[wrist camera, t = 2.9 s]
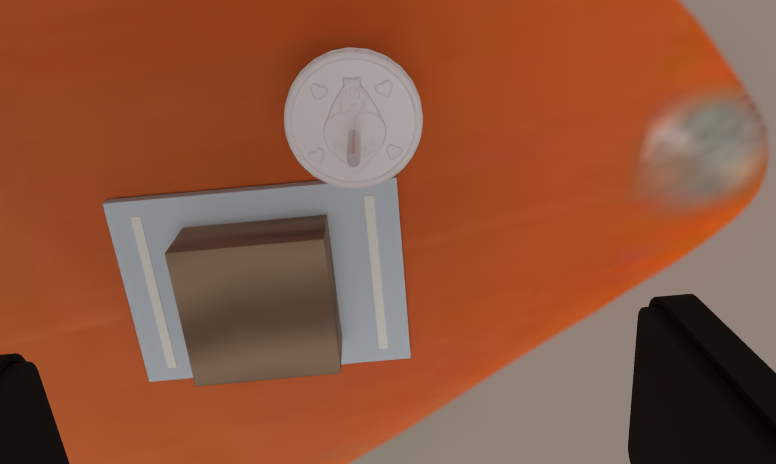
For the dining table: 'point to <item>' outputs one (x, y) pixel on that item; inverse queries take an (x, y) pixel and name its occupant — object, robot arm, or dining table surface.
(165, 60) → the dining table surface
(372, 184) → the smoothie
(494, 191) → the dining table surface
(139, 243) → the base
